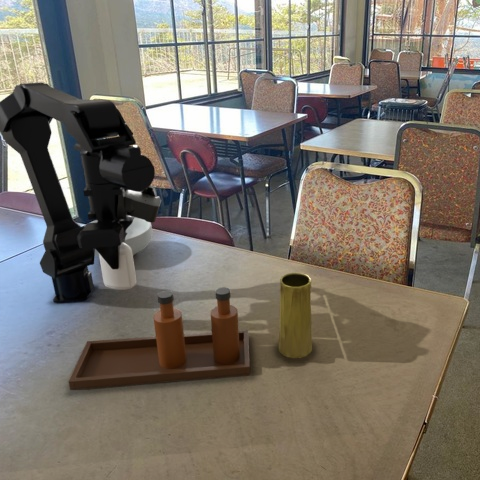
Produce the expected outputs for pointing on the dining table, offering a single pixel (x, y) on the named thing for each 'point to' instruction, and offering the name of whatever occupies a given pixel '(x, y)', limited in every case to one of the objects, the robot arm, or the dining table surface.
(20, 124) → the robot arm
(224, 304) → the amber bottle
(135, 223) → the cereal bowl
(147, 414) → the dining table surface
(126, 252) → the eye dropper bottle
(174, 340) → the amber bottle
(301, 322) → the vase
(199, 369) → the tray
